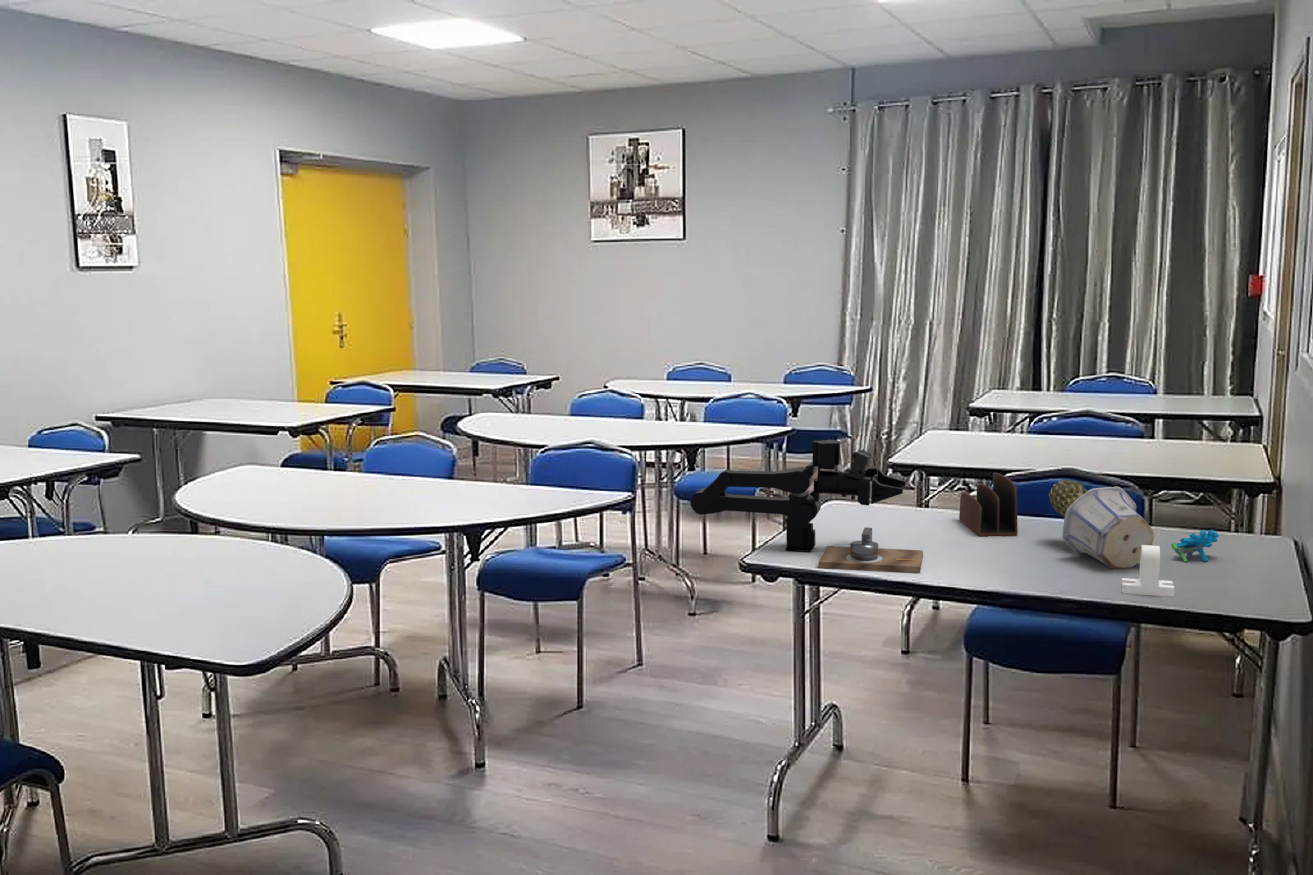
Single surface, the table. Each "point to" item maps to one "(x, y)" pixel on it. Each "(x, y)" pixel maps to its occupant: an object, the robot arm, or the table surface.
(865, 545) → the grey rotary lever handle
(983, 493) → the letter holder
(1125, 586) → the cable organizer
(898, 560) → the base plate
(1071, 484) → the potted plant
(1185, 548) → the blue spiky toy dinosaur
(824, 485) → the robot arm
